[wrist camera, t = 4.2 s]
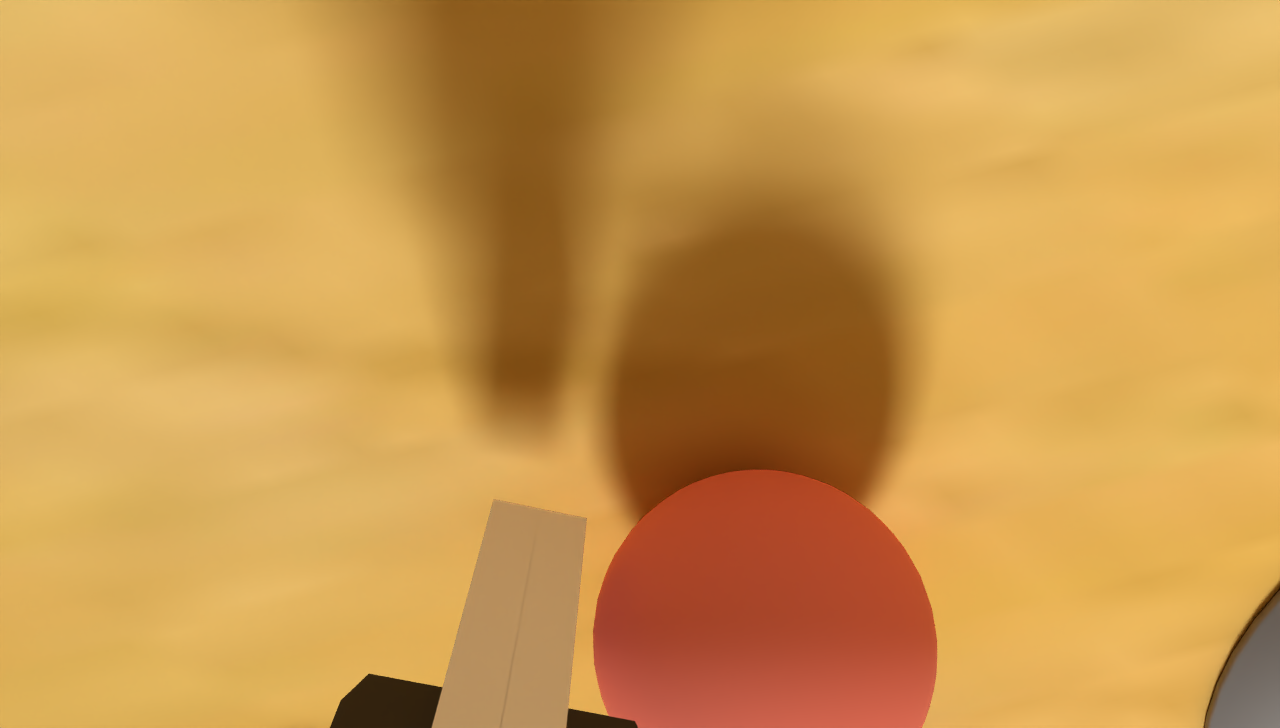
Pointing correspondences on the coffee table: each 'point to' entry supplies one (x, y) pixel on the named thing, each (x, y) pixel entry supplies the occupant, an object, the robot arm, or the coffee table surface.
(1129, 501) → the coffee table surface
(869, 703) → the ball
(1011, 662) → the coffee table surface
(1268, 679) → the disc
